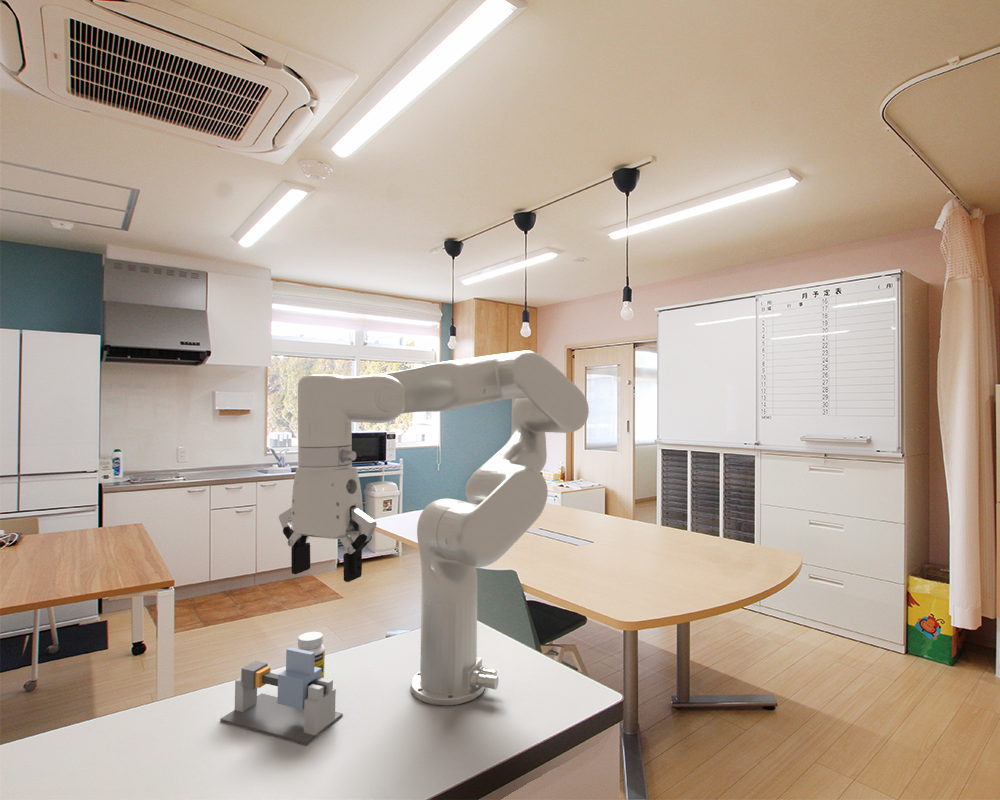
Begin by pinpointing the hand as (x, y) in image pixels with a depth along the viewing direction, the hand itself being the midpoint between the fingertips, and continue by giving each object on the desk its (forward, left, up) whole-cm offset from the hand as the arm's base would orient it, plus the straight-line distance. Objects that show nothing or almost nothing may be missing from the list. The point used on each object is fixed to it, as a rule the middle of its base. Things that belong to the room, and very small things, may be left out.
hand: (326, 575), depth 79 cm
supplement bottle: (+11, -10, -23) cm, 27 cm away
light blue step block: (+5, 0, -19) cm, 20 cm away
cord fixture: (+8, 0, -22) cm, 24 cm away
